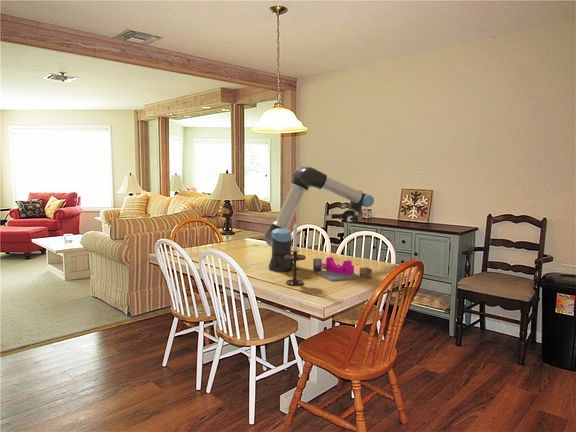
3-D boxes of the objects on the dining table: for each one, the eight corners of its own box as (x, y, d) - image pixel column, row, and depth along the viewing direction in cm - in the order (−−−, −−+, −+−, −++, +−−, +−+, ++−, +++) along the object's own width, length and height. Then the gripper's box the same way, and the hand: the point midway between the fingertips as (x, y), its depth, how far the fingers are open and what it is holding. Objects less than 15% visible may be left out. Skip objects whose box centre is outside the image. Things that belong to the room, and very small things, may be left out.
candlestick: (283, 280, 222) (284, 215, 218) (304, 280, 223) (304, 215, 219) (285, 286, 212) (285, 218, 208) (306, 286, 212) (307, 218, 208)
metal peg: (315, 272, 241) (315, 260, 240) (311, 270, 246) (311, 258, 245) (323, 271, 243) (323, 259, 242) (319, 269, 248) (319, 258, 247)
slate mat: (331, 281, 222) (331, 279, 222) (316, 273, 239) (316, 271, 238) (360, 278, 229) (360, 276, 229) (344, 270, 245) (344, 268, 245)
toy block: (353, 273, 236) (354, 260, 235) (347, 275, 231) (347, 261, 230) (332, 268, 246) (332, 256, 245) (326, 270, 241) (326, 257, 240)
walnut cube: (363, 278, 228) (363, 269, 227) (359, 276, 233) (359, 267, 232) (371, 278, 229) (372, 269, 229) (367, 275, 234) (367, 267, 233)
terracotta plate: (321, 268, 252) (321, 263, 251) (321, 266, 257) (321, 261, 256) (334, 268, 251) (334, 264, 250) (334, 267, 256) (334, 262, 255)
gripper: (368, 222, 260) (356, 226, 242) (332, 220, 273) (318, 223, 254) (369, 210, 259) (357, 213, 241) (332, 208, 272) (318, 211, 254)
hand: (337, 218), depth 248 cm, fingers open, 13 cm apart
